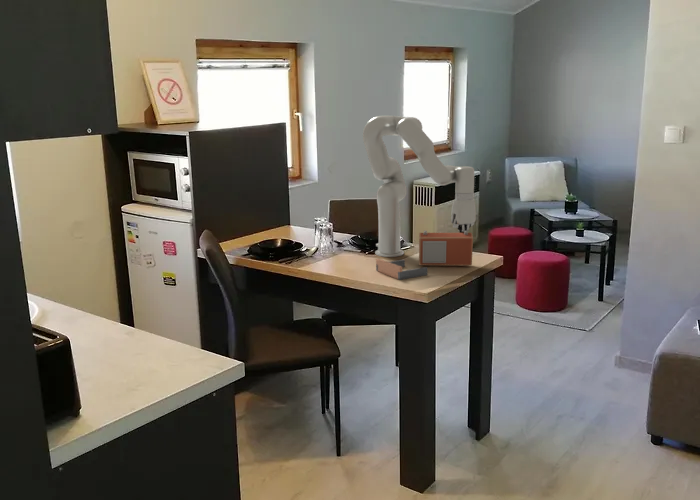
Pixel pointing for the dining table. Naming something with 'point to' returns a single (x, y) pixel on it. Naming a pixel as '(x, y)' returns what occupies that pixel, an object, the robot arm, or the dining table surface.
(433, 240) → the control panel
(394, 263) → the docking guide
